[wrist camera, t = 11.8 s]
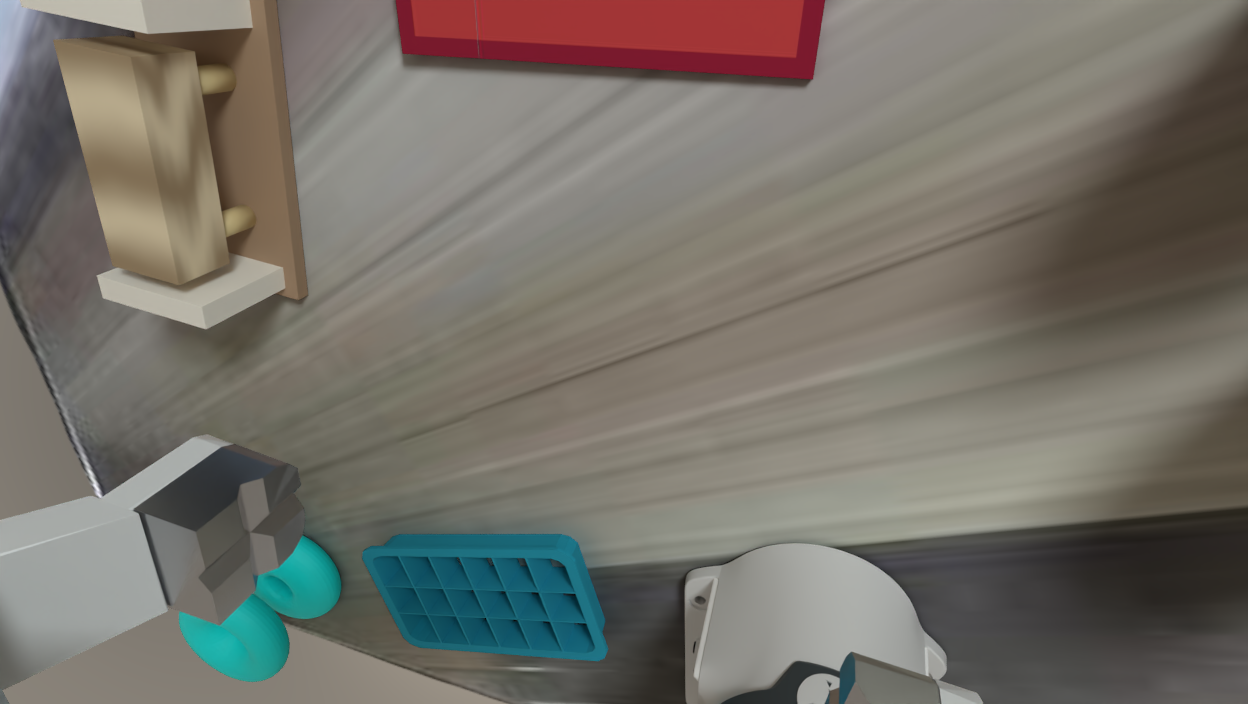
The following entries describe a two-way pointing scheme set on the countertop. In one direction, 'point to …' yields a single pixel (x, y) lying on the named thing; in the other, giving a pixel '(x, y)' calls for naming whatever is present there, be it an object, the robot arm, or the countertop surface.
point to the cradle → (222, 151)
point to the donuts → (267, 616)
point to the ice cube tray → (490, 594)
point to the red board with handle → (622, 33)
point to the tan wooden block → (147, 154)
